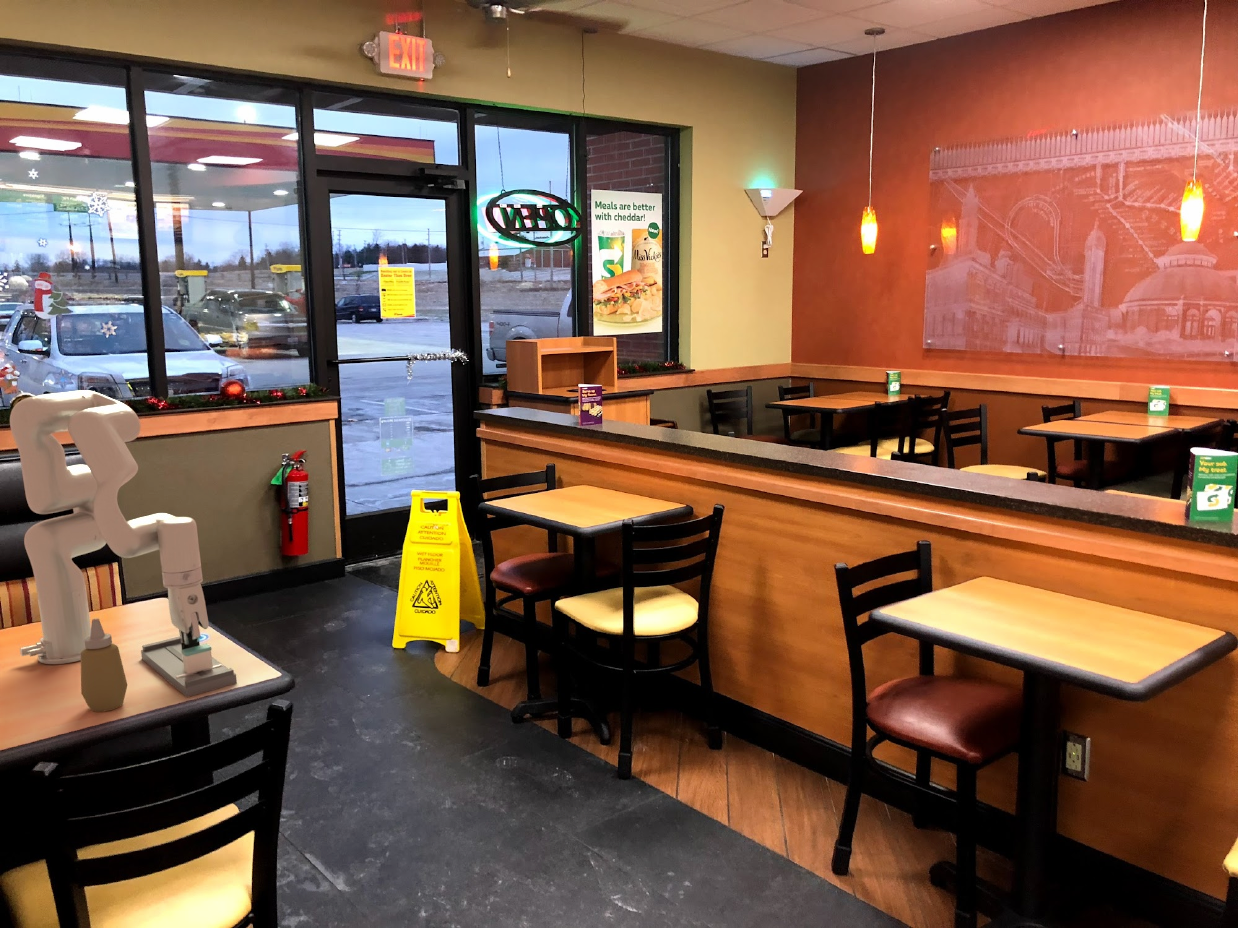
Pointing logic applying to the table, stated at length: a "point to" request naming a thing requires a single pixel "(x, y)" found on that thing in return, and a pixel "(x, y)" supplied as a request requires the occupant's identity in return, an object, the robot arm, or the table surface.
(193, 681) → the console board
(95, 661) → the squeeze bottle
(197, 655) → the fader knob
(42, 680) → the table surface
